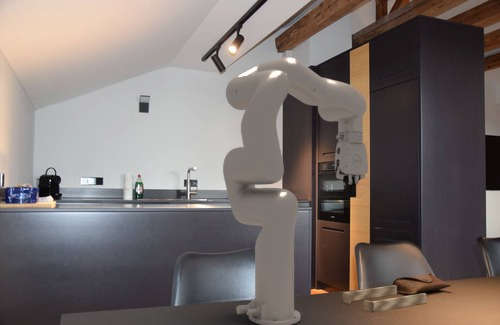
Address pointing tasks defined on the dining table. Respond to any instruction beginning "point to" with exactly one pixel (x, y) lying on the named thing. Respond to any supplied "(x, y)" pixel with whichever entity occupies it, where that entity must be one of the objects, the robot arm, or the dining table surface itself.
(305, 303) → the dining table surface
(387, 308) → the wooden pieces
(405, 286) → the sunglasses case
